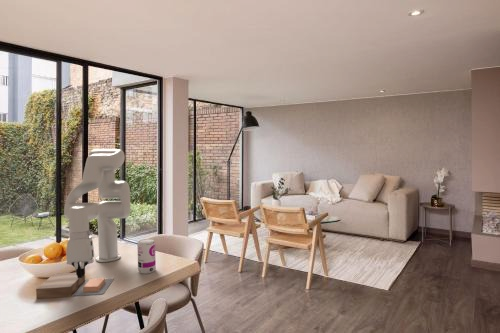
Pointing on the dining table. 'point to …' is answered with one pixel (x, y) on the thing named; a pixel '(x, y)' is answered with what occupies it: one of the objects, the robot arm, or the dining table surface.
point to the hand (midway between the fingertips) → (80, 276)
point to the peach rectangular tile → (94, 284)
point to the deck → (59, 285)
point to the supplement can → (146, 256)
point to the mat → (101, 291)
